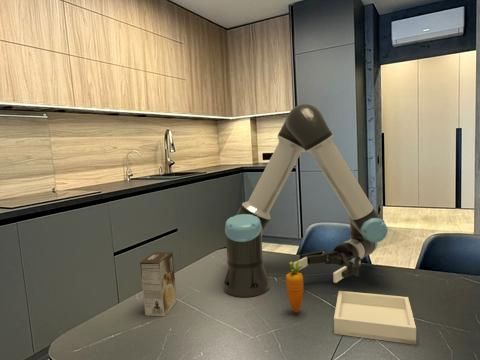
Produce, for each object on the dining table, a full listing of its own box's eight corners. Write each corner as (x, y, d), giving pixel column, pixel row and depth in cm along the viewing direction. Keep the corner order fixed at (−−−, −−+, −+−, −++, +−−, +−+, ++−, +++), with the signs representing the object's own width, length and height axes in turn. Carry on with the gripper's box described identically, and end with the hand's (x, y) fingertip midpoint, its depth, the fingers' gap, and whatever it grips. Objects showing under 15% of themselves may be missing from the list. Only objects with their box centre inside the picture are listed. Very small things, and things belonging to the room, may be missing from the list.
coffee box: (158, 301, 108) (153, 251, 106) (177, 302, 107) (173, 251, 105) (144, 316, 99) (139, 261, 97) (165, 317, 98) (160, 262, 96)
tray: (334, 333, 85) (333, 318, 84) (339, 304, 99) (338, 290, 99) (416, 344, 78) (416, 328, 78) (408, 311, 93) (408, 297, 93)
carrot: (299, 307, 99) (297, 256, 97) (308, 315, 94) (306, 262, 93) (283, 310, 97) (281, 259, 96) (292, 318, 93) (289, 265, 91)
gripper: (385, 272, 107) (353, 296, 92) (316, 256, 125) (280, 274, 110) (385, 248, 107) (353, 269, 92) (315, 236, 124) (279, 252, 109)
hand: (313, 272), depth 101 cm, fingers open, 13 cm apart
